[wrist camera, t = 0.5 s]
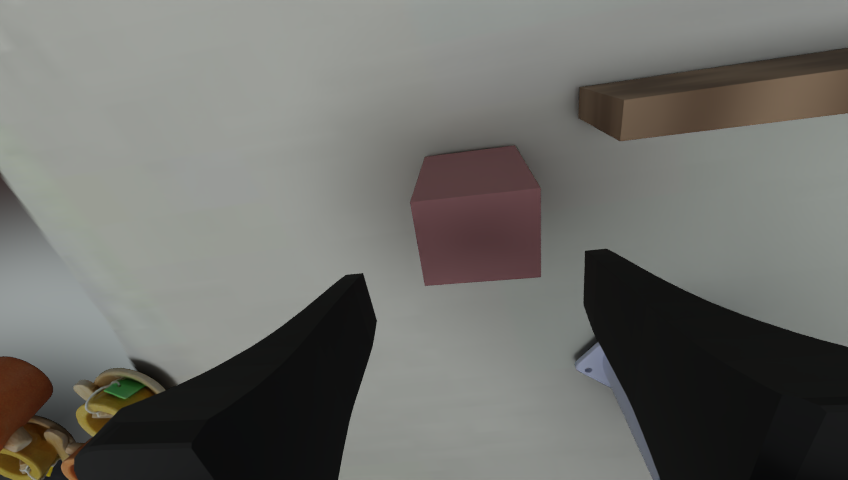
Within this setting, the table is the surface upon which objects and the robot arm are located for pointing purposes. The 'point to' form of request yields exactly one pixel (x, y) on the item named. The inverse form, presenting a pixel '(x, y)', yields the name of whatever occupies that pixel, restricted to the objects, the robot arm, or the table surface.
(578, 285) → the table surface
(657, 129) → the shelf wall
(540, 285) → the table surface
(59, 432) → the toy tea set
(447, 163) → the mauve rectangular block
